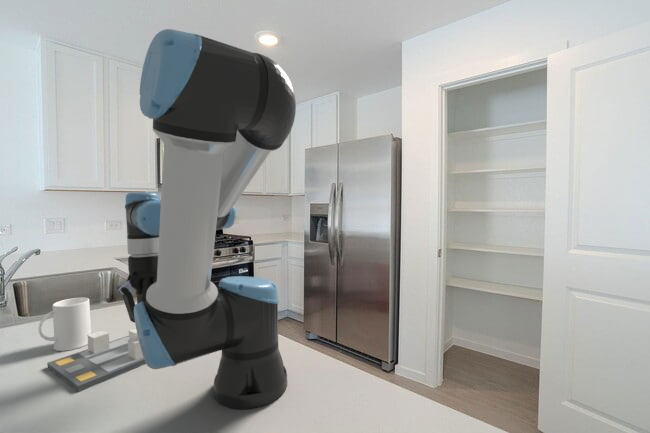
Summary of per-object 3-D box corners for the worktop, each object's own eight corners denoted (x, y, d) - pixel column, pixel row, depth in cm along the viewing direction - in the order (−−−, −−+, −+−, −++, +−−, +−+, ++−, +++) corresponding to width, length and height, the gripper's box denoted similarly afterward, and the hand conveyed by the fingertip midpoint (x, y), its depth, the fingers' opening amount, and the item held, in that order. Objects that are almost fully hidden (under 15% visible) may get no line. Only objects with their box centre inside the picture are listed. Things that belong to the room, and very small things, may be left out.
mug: (45, 359, 83) (42, 312, 82) (33, 351, 88) (30, 306, 87) (98, 342, 93) (95, 300, 92) (84, 335, 97) (82, 295, 97)
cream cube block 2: (149, 343, 88) (149, 328, 88) (136, 348, 85) (135, 333, 85) (142, 340, 90) (142, 326, 90) (129, 345, 87) (128, 330, 87)
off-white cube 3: (109, 348, 86) (108, 333, 85) (94, 353, 83) (93, 338, 82) (103, 345, 88) (102, 330, 87) (88, 350, 85) (87, 335, 84)
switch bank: (176, 350, 87) (176, 345, 87) (78, 391, 69) (78, 385, 69) (141, 335, 97) (141, 331, 97) (47, 367, 79) (47, 362, 79)
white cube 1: (150, 353, 82) (149, 338, 82) (135, 359, 79) (134, 343, 79) (142, 350, 84) (142, 335, 84) (128, 355, 81) (127, 340, 81)
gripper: (162, 249, 90) (165, 334, 91) (109, 256, 79) (114, 352, 81) (178, 251, 86) (181, 340, 87) (124, 260, 75) (129, 360, 76)
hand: (149, 346), depth 84 cm, fingers closed
